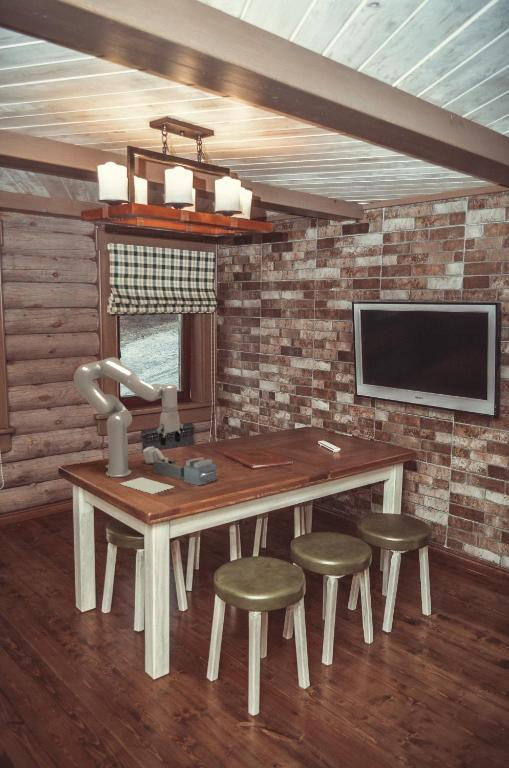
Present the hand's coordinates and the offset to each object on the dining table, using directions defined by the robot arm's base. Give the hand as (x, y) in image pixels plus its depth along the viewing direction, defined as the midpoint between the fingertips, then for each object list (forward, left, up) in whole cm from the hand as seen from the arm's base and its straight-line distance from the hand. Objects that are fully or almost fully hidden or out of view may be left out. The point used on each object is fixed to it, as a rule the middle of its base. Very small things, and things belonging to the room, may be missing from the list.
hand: (170, 443), depth 296 cm
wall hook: (-24, +12, -17) cm, 32 cm away
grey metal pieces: (+8, +3, -17) cm, 19 cm away
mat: (+4, -19, -17) cm, 26 cm away
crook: (-1, +3, -17) cm, 17 cm away
